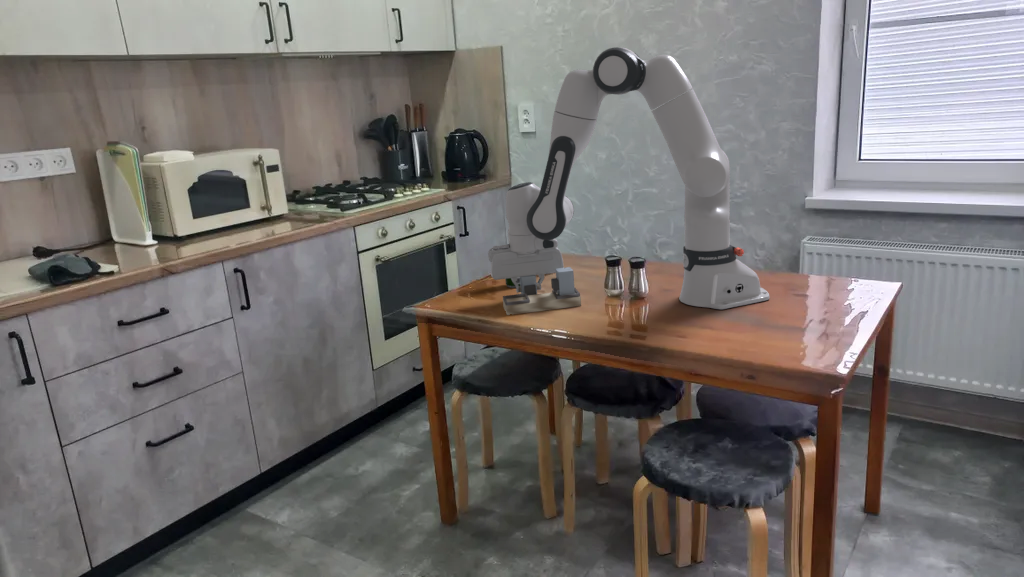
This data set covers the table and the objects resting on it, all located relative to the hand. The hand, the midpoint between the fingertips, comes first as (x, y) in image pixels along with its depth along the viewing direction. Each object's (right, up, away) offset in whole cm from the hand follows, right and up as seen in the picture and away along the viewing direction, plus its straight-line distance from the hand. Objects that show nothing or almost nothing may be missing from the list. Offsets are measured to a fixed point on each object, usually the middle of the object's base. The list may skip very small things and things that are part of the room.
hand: (528, 290), depth 196 cm
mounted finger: (+10, -1, -7) cm, 12 cm away
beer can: (-4, +1, +14) cm, 15 cm away
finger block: (0, -2, +1) cm, 2 cm away
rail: (+3, -4, -7) cm, 9 cm away
